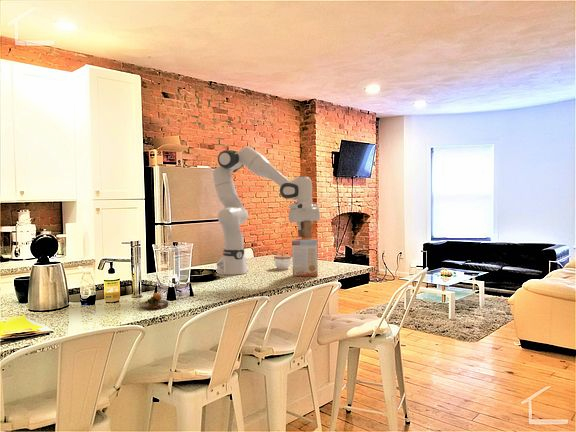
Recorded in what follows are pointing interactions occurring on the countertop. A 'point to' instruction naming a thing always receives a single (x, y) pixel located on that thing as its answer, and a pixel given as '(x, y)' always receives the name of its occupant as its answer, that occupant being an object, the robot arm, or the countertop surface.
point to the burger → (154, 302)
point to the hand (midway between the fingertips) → (304, 229)
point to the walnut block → (305, 229)
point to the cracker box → (304, 257)
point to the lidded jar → (282, 261)
